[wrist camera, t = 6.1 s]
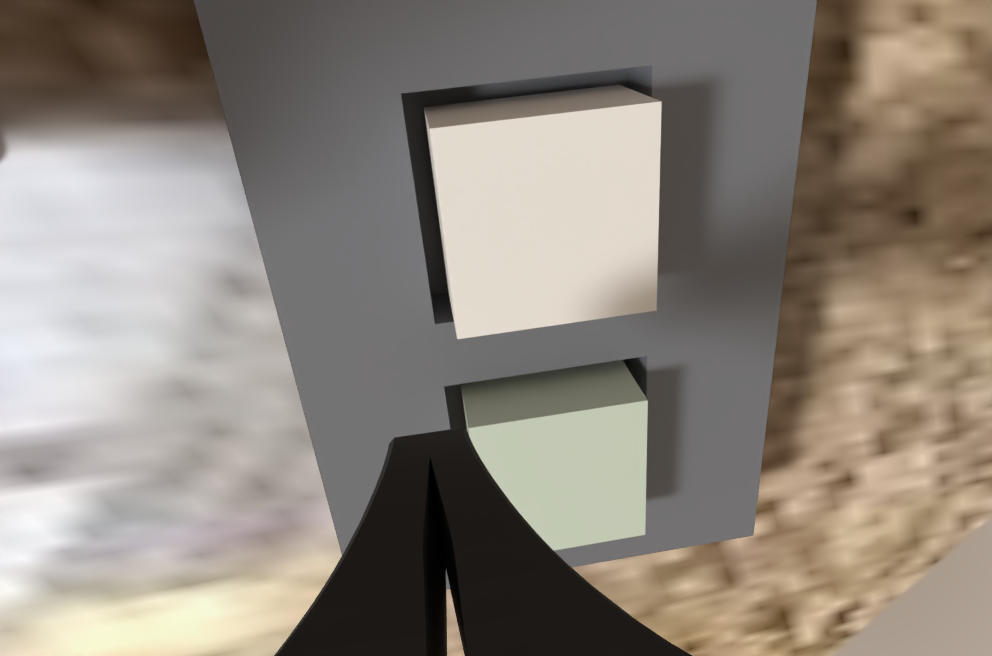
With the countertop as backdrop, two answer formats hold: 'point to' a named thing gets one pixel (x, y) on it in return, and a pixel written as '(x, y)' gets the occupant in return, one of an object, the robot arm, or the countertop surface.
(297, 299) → the keypad
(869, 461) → the countertop surface
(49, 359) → the countertop surface
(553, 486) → the sage key
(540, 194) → the white key
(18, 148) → the countertop surface
